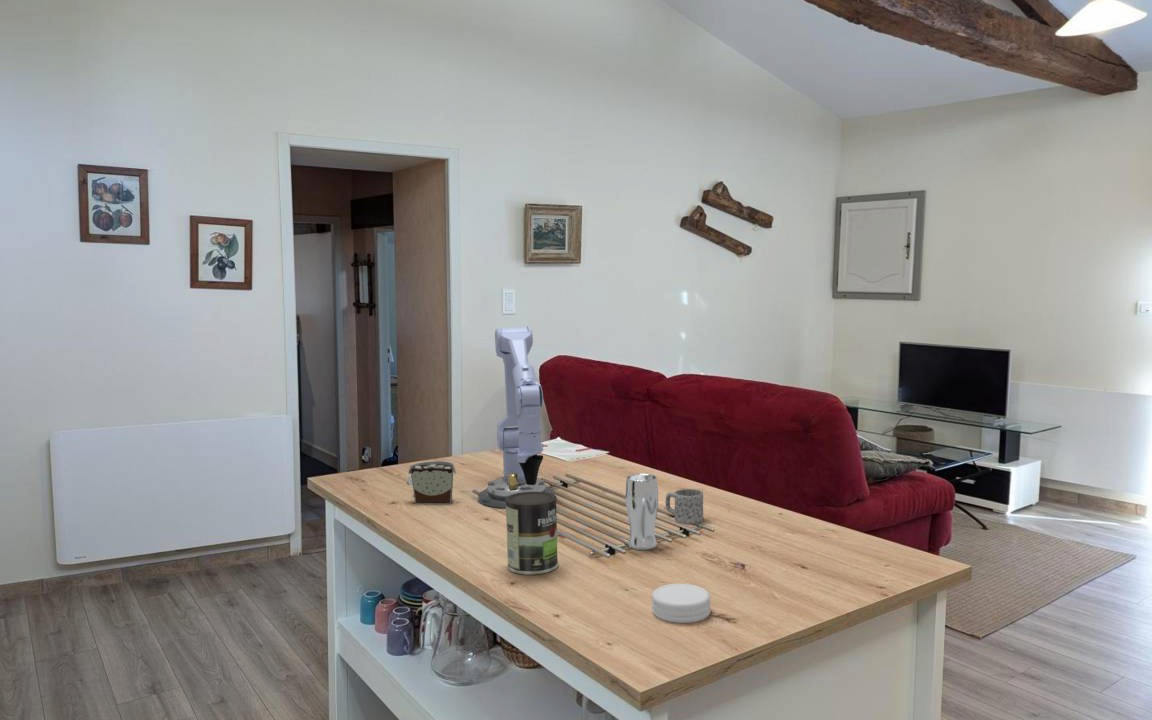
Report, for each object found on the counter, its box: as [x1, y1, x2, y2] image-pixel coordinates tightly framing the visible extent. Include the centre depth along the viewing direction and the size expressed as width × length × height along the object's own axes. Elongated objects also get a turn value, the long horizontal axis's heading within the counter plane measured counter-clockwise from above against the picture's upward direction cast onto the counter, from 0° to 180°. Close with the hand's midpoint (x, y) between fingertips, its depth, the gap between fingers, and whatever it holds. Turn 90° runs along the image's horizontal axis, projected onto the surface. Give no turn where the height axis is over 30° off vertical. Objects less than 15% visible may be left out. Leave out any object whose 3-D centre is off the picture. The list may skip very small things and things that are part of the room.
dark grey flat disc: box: [477, 486, 556, 509], centre depth 220 cm, size 20×20×1 cm
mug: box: [665, 488, 704, 525], centre depth 198 cm, size 10×7×7 cm, turn 47°
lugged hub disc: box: [487, 473, 546, 500], centre depth 219 cm, size 15×15×6 cm
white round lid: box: [651, 583, 711, 624], centre depth 144 cm, size 10×10×4 cm
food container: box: [408, 460, 457, 505], centre depth 218 cm, size 12×6×10 cm, turn 84°
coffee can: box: [505, 492, 559, 576], centre depth 168 cm, size 10×10×14 cm
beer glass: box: [625, 473, 659, 551], centre depth 179 cm, size 7×7×15 cm
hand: (531, 484), depth 214 cm, fingers closed
